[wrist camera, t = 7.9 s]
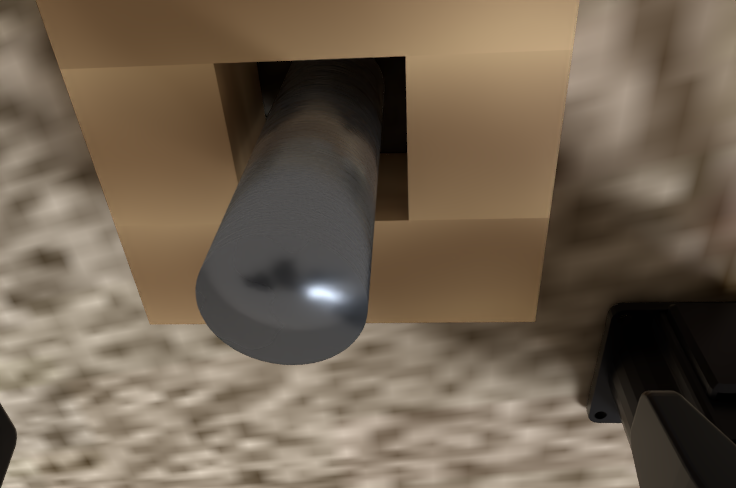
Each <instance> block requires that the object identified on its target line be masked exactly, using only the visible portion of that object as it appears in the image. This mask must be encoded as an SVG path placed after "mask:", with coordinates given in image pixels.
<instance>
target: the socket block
mask: <svg viewBox="0 0 736 488" xmlns="http://www.w3.org/2000/svg"><path fill="white" fill-rule="evenodd" d="M36 3H37V6H38V9H39V12H40V14H41V17H42V20H43V23H44V26H45V29H46V31H47V34H48V37H49V40H50V43H51V46H52V48H53V51H54V54H55V57H56V60H57V62H58V65H59V68H60V71H61V74H62V77H63V79H64V82H65V85H66V88H67V91H68V94H69V96H70V99H71V102H72V105H73V108H74V111H75V113H76V116H77V119H78V122H79V125H80V128H81V130H82V133H83V136H84V139H85V142H86V145H87V147H88V150H89V153H90V156H91V159H92V162H93V164H94V167H95V170H96V173H97V176H98V179H99V181H100V184H101V187H102V190H103V193H104V195H105V198H106V201H107V204H108V207H109V210H110V212H111V215H112V218H113V221H114V224H115V227H116V229H117V232H118V235H119V238H120V241H121V244H122V246H123V249H124V252H125V255H126V258H127V261H128V263H129V266H130V269H131V272H132V275H133V278H134V280H135V283H136V286H137V289H138V292H139V295H140V297H141V300H142V303H143V306H144V309H145V312H146V314H147V317H148V320H149V323H150V324H206V323H205V321H204V319H203V317H202V316H201V314H200V311H199V309H198V306H197V301H196V293H195V287H196V280H197V277H198V274H199V271H200V269H201V267H202V265H203V262H204V260H205V258H206V256H207V253H208V251H209V249H210V246H211V244H212V242H213V240H214V237H215V235H216V233H217V231H218V228H219V226H220V224H221V222H222V219H223V217H224V215H225V213H226V210H227V208H228V206H229V203H230V201H231V199H232V197H233V194H234V192H235V190H236V188H237V185H238V183H239V181H240V179H241V176H242V174H243V172H244V170H245V167H246V165H247V163H248V160H249V158H250V156H251V154H252V151H253V149H254V147H255V145H256V142H257V140H258V138H259V136H260V133H261V131H262V129H263V126H264V124H265V122H266V118H265V111H264V105H263V99H262V93H261V87H260V81H259V75H258V68H257V62H265V61H291V60H317V59H343V58H370V57H396V56H406V105H407V153H389V154H380V157H379V170H378V183H377V197H376V210H375V223H374V237H373V250H372V263H371V277H370V290H369V303H368V314H367V319H366V323H435V322H535V319H536V311H537V304H538V297H539V290H540V282H541V275H542V268H543V261H544V253H545V246H546V239H547V232H548V225H549V217H550V210H551V203H552V196H553V188H554V181H555V174H556V167H557V159H558V152H559V145H560V138H561V130H562V123H563V116H564V109H565V102H566V94H567V87H568V80H569V73H570V65H571V58H572V51H573V44H574V36H575V29H576V22H577V15H578V7H579V0H36Z"/></svg>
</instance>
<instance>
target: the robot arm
mask: <svg viewBox="0 0 736 488" xmlns="http://www.w3.org/2000/svg"><path fill="white" fill-rule="evenodd" d="M622 315H627V316H625V317H622V318H619V317H620V316H622ZM586 409H587V413H588V417H589V419H590V420H591V421H593V422H596V423H622V424H623V427H624V430H625V433H626V435H627V438H628V441H629V444H630V447H631V450H632V454H633V459H634V463H635V468H636V472H637V477H638V481H639V486H640V488H736V302H649V303H619V304H616V305H614V306H613V307H612V308H611V309H610V310H609V312H608V316H607V320H606V324H605V329H604V333H603V338H602V342H601V346H600V351H599V355H598V359H597V364H596V368H595V373H594V377H593V381H592V386H591V390H590V394H589V399H588V403H587V408H586ZM16 440H17V433H16V429H15V427H14V425H13V423H12V422H11V420H10V418H9V417H8V415H7V413H6V412H5V410H4V409H3V407H2V405H1V404H0V488H1V486H2V483H3V480H4V477H5V474H6V472H7V469H8V466H9V463H10V460H11V457H12V455H13V452H14V449H15V446H16Z"/></svg>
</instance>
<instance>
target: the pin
mask: <svg viewBox="0 0 736 488" xmlns="http://www.w3.org/2000/svg"><path fill="white" fill-rule="evenodd" d="M383 104H384V79H383V75H382V72H381V69H380V67H379V65H378V63H377V62H376V60H375V59H374V58H373V57H370V58H343V59H317V60H293V62H292V63H291V65H290V68H289V70H288V72H287V74H286V77H285V79H284V81H283V83H282V86H281V88H280V90H279V93H278V95H277V97H276V99H275V102H274V104H273V106H272V108H271V111H270V113H269V115H268V117H267V120H266V122H265V124H264V126H263V129H262V131H261V133H260V136H259V138H258V140H257V142H256V145H255V147H254V149H253V151H252V154H251V156H250V158H249V160H248V163H247V165H246V167H245V170H244V172H243V174H242V176H241V179H240V181H239V183H238V185H237V188H236V190H235V192H234V194H233V197H232V199H231V201H230V203H229V206H228V208H227V210H226V213H225V215H224V217H223V219H222V222H221V224H220V226H219V228H218V231H217V233H216V235H215V237H214V240H213V242H212V244H211V246H210V249H209V251H208V253H207V256H206V258H205V260H204V262H203V265H202V267H201V269H200V271H199V274H198V277H197V280H196V287H195V293H196V301H197V306H198V309H199V311H200V314H201V316H202V317H203V319H204V321H205V323H206V324H207V325H208V327H209V328H210V329H211V330H212V332H213V333H214V334H215V335H216V336H217V337H218V338H220V339H221V340H222V341H223V342H224V343H226V344H227V345H229V346H230V347H232V348H233V349H235V350H237V351H239V352H240V353H242V354H245V355H247V356H249V357H252V358H255V359H258V360H261V361H265V362H269V363H275V364H282V365H303V364H310V363H315V362H319V361H323V360H326V359H328V358H331V357H333V356H335V355H337V354H339V353H341V352H342V351H344V350H345V349H347V348H348V347H349V346H350V345H351V344H352V343H353V342H354V341H355V340H356V339H357V338H358V336H359V335H360V333H361V332H362V330H363V328H364V325H365V323H366V319H367V314H368V303H369V290H370V277H371V263H372V250H373V237H374V223H375V210H376V197H377V183H378V170H379V157H380V143H381V130H382V117H383Z"/></svg>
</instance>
